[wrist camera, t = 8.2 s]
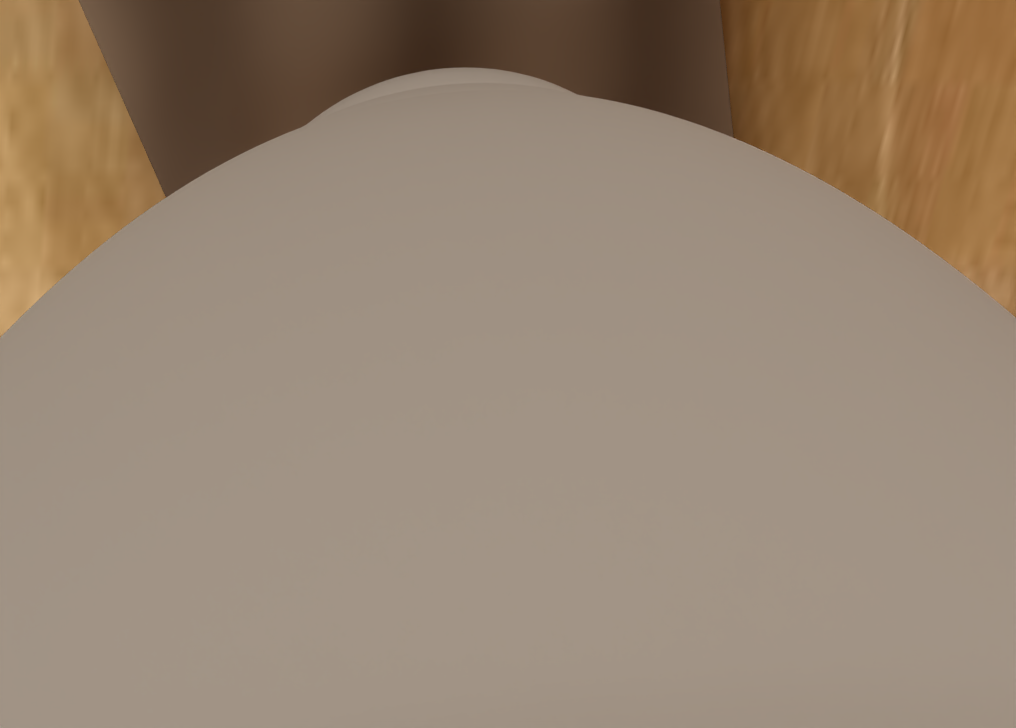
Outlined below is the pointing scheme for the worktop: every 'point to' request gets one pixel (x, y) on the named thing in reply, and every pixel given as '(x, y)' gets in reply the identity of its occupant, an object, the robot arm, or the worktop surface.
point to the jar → (508, 441)
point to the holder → (385, 61)
